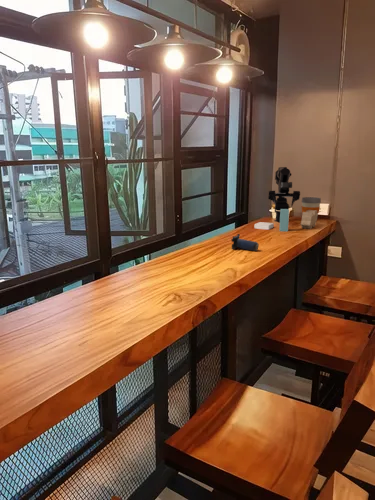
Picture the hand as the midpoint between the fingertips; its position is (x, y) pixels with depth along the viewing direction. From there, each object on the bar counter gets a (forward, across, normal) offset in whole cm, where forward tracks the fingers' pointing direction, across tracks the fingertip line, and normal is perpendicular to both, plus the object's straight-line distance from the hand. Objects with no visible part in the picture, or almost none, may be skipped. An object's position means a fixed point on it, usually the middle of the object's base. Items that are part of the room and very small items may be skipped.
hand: (284, 205), depth 238 cm
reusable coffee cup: (-15, +20, +35) cm, 43 cm away
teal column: (+15, 0, +4) cm, 16 cm away
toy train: (+6, +16, +14) cm, 22 cm away
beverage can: (+52, -21, -32) cm, 65 cm away
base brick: (+10, -11, +10) cm, 18 cm away
